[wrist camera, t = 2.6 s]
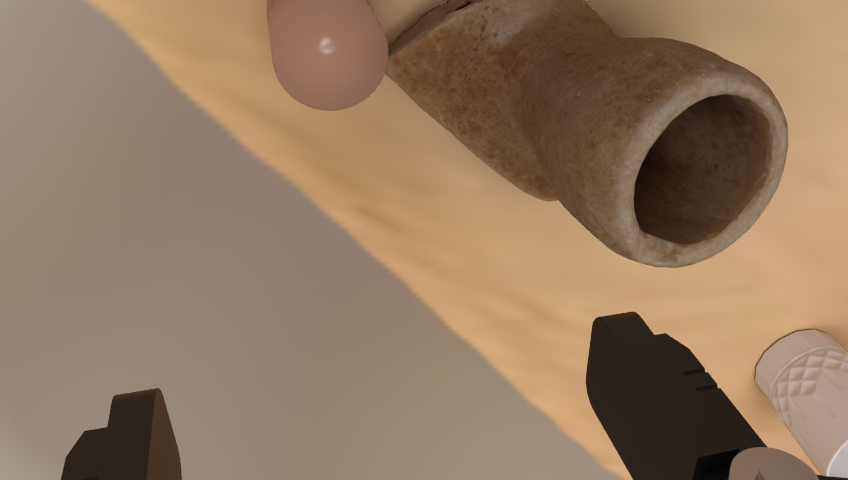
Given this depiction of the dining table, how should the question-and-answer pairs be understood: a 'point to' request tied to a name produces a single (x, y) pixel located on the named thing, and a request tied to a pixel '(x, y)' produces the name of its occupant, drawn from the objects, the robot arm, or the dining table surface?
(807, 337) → the white cup
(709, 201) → the stone cup
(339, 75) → the terracotta jar
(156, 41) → the dining table surface
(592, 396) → the robot arm
